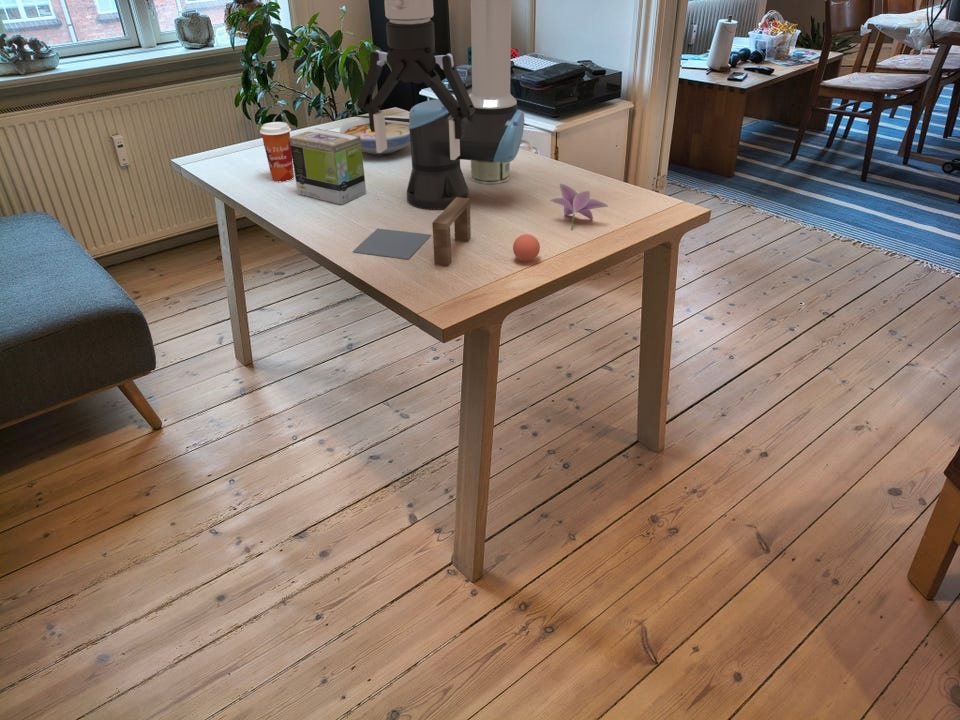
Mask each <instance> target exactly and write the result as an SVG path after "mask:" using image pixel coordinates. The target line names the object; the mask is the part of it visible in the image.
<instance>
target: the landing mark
mask: <svg viewBox="0 0 960 720" xmlns="http://www.w3.org/2000/svg"><path fill="white" fill-rule="evenodd" d="M430 237H432V234H430V233H429V234H428V233H420V232H414V231H413V232H412V231H402V230H394V229H387V228H386V229H385V228H376V229H375V230H374V231H373V232H371V234H369V236H367V237H366V238H365V239H364V240H363V241H362V242H360V243H359V245H357V247H355V248H354V249H353V250H352V252H354V253H353V254H361V255H369V256H375V257H385V258H391V259H392V258H393V259H401V260H406V261H407V260H408V261H409V260H410V259H411V258H412V257H413V256H414V255H415V254H416V252H417V251H419V250H420V248H422V246H423V245H424V244H425V243H426V242H427V241H428V239H430ZM352 252H351V253H352Z"/></svg>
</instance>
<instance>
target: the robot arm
mask: <svg viewBox="0 0 960 720" xmlns="http://www.w3.org/2000/svg"><path fill="white" fill-rule="evenodd" d="M434 11H435V10H434V0H384V12H385V17H386V19H388V21H387V22H386V24H385V26H386V28H385V31H386V40H387V41H386V42H387V43H386V44H387V46H388V51H387V52H385V51H383V50H382V49H380V48H378V49H376V50H374V51H372V52H371V53H370V55H369V68H368V71H367V73H366V77H365V80H364V83H363V86H362V89H361V92H360V93H359V97H358V100H357V103H356V106H357V108H358V109H359V110H363V111H366V112H367V114H368V116H369V122H370V129H371V132H375V139H376V150H377V153H382V152H383V151H384V150H386V149H387V139H386V127H385V116H386V115H385V110H381V108H382V105H384V102H385V101H386V100H387V98H388V97H389V96H390V95H391V93H392V91H393V90H394V89H395V88H396V86H397V84H398V83H399V82H400V81H401V82H402V83H405V84H407V83H410V82H411V83H415V84H421V83H424V85H426V87H428V88H430V89H431V91H432V92H433V94H434V95H435V96H436V97H437V98H435V99H429V100H426V101H423V102H420V103H417V104H415V105H414V106H412V107H411V109H410V110H409V112H408V116H409V117H408V118H409V131H410V143H409V144H410V157H411V158H410V159H411V173H410V177H409V181H408V184H407V189H406V200H407V202H408V204H410V205H411V206H413V207H414V208H419V209H423V210H445V209H446V208H447V207H448V206H449V205H450V203H451V202H452V201H453V200H454V199H455V198H456V197H460V198H469V188H468V185H467V182H466V180H465V176H464V173H463V171H462V168H461V161H462V160H463V161H471V160H475V161H489V162H493V163H496V162H512V161H514V160H515V159H516V157H517V155H518V153H519V150H520V147H521V143H522V140H523V134H524V128H525V113H524V111H523V110H521V109H518V102H517V99H516V98H515V97H514V96H513V95H512V94H511V63H512V62H511V57H512V56H511V52H512V51H511V49H512V0H470V33H471V34H470V36H471V37H470V38H471V41H470V45H471V94H470V95H469V92H468V90H467V89H466V85H465V84H464V82H463V80H462V78H461V76H460V73H459V71H458V69H457V67H456V65H457V64H456V59H455V58H456V57H455V54H454V53H453V52H449V53H447V54H445V55H444V54H441V55H439V54H437V52H436V47H435V45H436V42H435V41H436V39H435V37H436V36H435V22H434V21H433V20H432V19H431V18H433V17H434V15H435V14H434V13H435V12H434ZM386 62H387V64H388V65H389V66H390V68H391V69H392V70H391V72H390V73H389V75H387V77H386V80H385V81H384V83H383V84H382V85H381V87H380V89H379V90H378V91H377V93H376V94H375V96H374V97H373V95H374V93H375V89H376V87H377V84H378V81H379V78H380V76H381V72H382V69H383V67H384V65H385V64H386ZM437 65H438V66H439V67H440V69H441V70H443V72H444V76H445V78H446V80H447V82H448V84H449V87H450V89H451V91H452V93H453V94H452V93H451V91H450V90H449V89H448V87H447V86H446V84H445V83H444V82H443V81H442V80H441V76H440V75H439V73H438V72H437V70H435V69H436V67H437ZM453 95H454V96H453ZM372 97H373V98H372Z"/></svg>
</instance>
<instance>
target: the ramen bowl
mask: <svg viewBox="0 0 960 720" xmlns="http://www.w3.org/2000/svg"><path fill="white" fill-rule="evenodd" d="M352 117H355V118H354V119H351V120H349V121H346V122H344V123H343V124H341V125H340V126H339V132H340V133H346V134H352V135H358V136H360V139H361V147H362V153H363V152H364V153H368V154H370V155H372V156H379V155H381V156H387V155H391V154H393V153H395V152H397V151H399V150H401V149H404V148H405V147H407V146H409V144H410V131H409V117H405V116H400V115H385V127H386V139H387V149H386V150H384V151H383V152H382V153H377V150H376V139H375V132H371V129H370V122H369V115H355V114H354V115H352Z"/></svg>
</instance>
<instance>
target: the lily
mask: <svg viewBox="0 0 960 720" xmlns="http://www.w3.org/2000/svg"><path fill="white" fill-rule="evenodd" d="M558 186H559V188H560V189H559V190H560V192H561V195H562V197H555V198H551V199H550V200H549V202H551V203H555V204H557V205H561V206H563V214H564V215H565V216H570V215H572V219H571V227H570V228H571V229H570V230H571V231H573V227H574V226H573V225H574V218H575V214H576V213H579V214H581V215H582V216H583V217H586V218H587V219H589V220H591V219H593V220H594V216H593V212H592V210H595V209H601V208H607V207H609V205H608V204H607V203H605V202H603V201H600V200H598V199H595V198H591V191H590V190H585V191H582V192H579V193H578V192H577V191H576V190H575V189H573V188H572V187H570V186H568V185H566V184H564V183H559V185H558Z"/></svg>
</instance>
